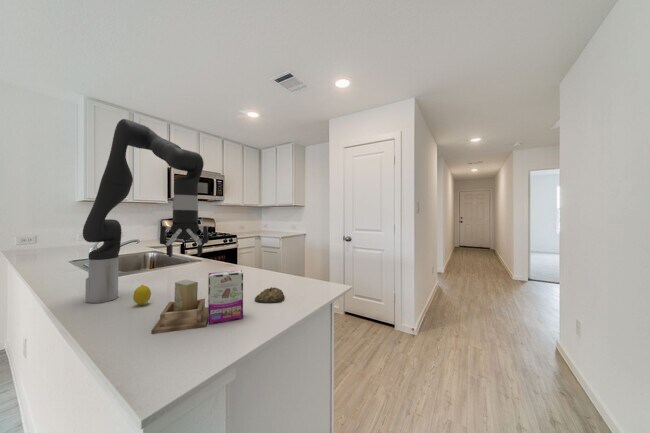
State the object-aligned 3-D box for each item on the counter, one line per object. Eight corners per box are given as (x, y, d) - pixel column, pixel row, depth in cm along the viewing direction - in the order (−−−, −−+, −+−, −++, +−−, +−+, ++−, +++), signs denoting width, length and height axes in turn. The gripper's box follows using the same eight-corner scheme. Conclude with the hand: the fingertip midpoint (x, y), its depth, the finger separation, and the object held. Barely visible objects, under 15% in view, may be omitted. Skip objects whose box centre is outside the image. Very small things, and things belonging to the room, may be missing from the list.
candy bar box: (241, 313, 90) (241, 269, 90) (243, 319, 86) (244, 272, 85) (207, 319, 85) (208, 272, 85) (207, 325, 80) (208, 275, 80)
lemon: (141, 308, 93) (141, 287, 93) (129, 307, 94) (129, 286, 94) (154, 303, 98) (154, 283, 98) (142, 302, 99) (143, 282, 99)
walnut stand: (151, 333, 74) (151, 317, 74) (164, 314, 88) (164, 300, 88) (206, 326, 79) (206, 311, 79) (210, 309, 93) (210, 296, 93)
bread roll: (281, 304, 100) (281, 292, 100) (251, 303, 101) (252, 291, 101) (287, 294, 113) (287, 283, 113) (260, 293, 114) (261, 282, 114)
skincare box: (173, 317, 83) (173, 282, 83) (185, 313, 87) (185, 279, 87) (186, 321, 80) (186, 284, 80) (197, 316, 84) (198, 281, 84)
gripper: (209, 209, 89) (208, 253, 89) (164, 208, 84) (163, 255, 85) (207, 209, 82) (206, 257, 82) (157, 208, 77) (157, 259, 77)
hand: (184, 256), depth 83 cm, fingers open, 8 cm apart
